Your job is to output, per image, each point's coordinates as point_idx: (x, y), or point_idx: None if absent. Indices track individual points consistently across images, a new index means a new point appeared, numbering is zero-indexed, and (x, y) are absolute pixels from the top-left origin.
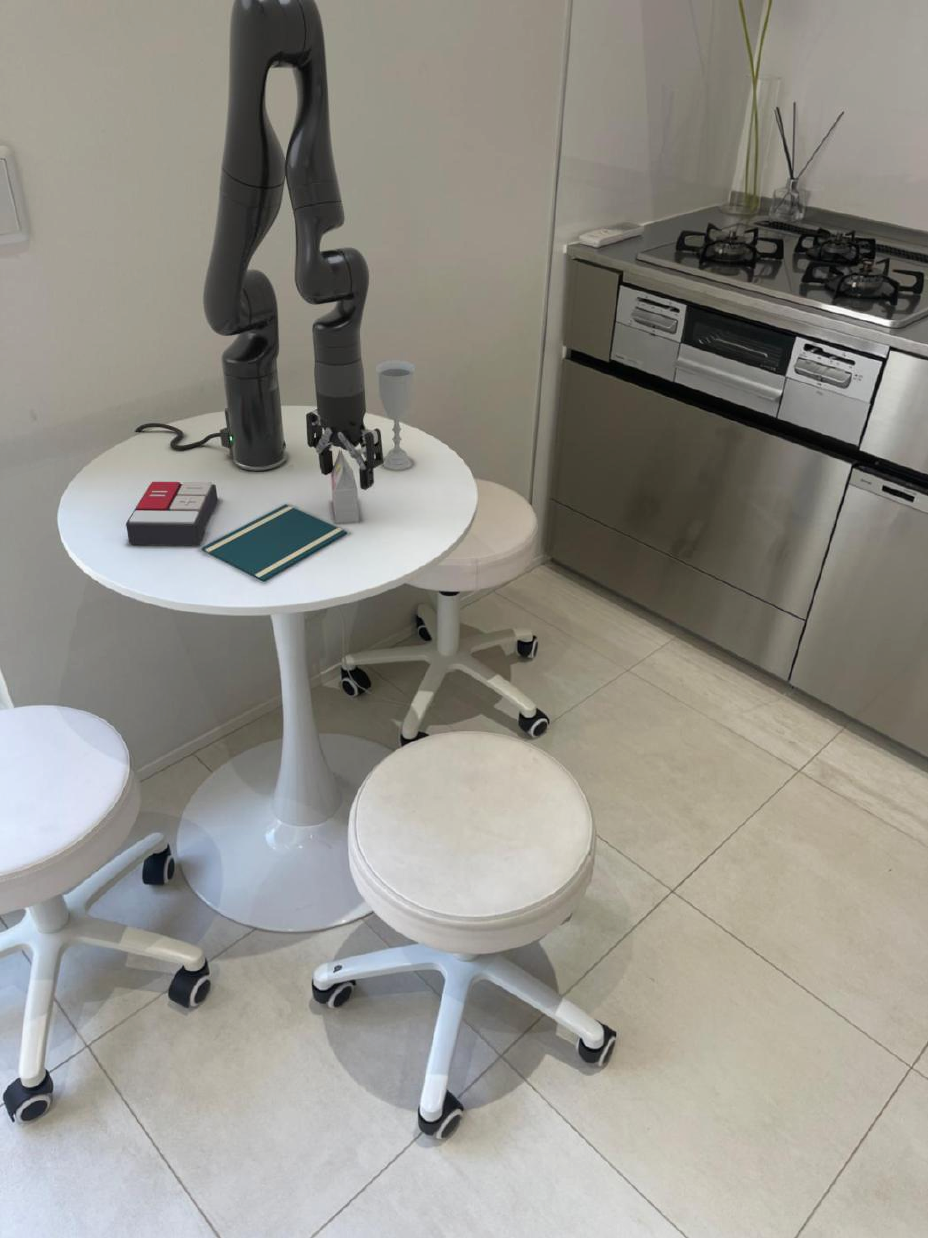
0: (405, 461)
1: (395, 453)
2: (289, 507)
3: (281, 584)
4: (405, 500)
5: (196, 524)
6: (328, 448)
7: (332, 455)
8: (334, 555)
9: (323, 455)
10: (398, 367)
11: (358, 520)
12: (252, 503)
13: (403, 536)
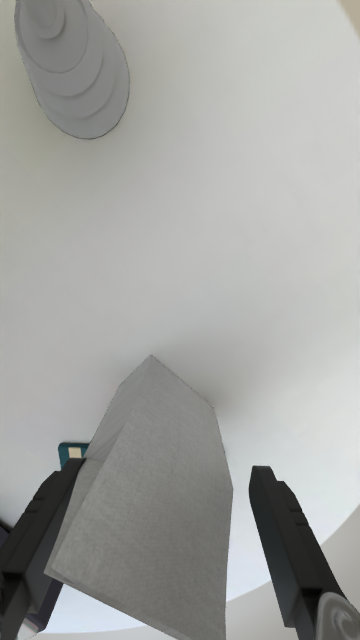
0: (113, 62)
1: (61, 52)
2: (73, 451)
3: (230, 568)
4: (248, 277)
5: (44, 626)
6: (5, 620)
7: (44, 532)
8: (248, 498)
9: (37, 607)
10: None
11: (214, 409)
12: (7, 466)
13: (325, 400)
